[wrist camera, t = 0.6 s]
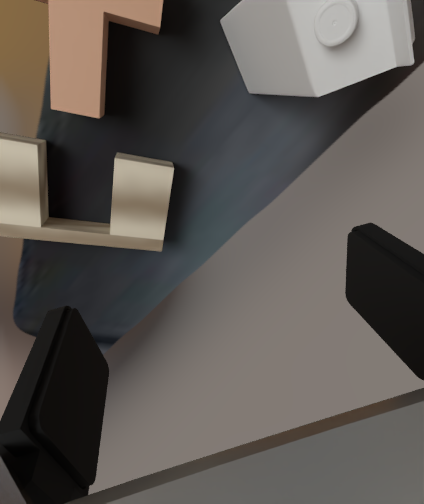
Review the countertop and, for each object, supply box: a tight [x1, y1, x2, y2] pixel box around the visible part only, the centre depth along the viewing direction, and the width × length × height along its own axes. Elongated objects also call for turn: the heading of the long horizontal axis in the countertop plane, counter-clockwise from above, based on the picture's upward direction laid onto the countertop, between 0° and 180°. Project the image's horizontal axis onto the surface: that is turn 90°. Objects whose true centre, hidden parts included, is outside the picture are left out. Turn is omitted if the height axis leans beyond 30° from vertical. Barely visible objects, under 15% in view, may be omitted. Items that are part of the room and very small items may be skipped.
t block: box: [36, 0, 163, 118], centre depth 26 cm, size 12×13×4 cm
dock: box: [0, 132, 174, 251], centre depth 33 cm, size 10×19×3 cm, turn 78°
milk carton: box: [220, 0, 415, 97], centre depth 22 cm, size 7×7×19 cm
